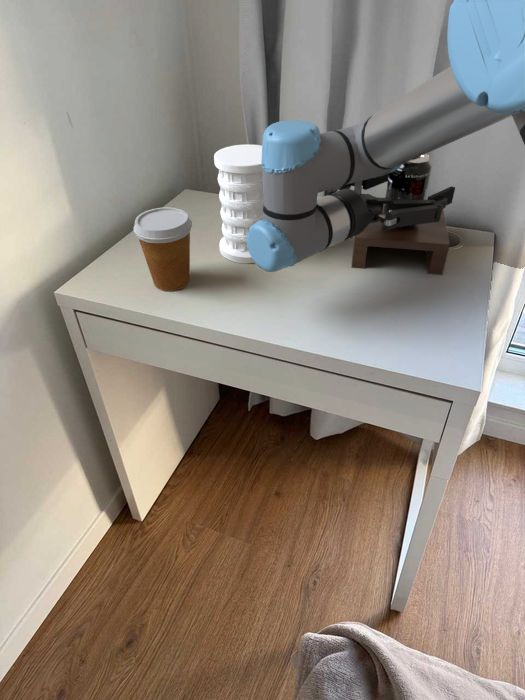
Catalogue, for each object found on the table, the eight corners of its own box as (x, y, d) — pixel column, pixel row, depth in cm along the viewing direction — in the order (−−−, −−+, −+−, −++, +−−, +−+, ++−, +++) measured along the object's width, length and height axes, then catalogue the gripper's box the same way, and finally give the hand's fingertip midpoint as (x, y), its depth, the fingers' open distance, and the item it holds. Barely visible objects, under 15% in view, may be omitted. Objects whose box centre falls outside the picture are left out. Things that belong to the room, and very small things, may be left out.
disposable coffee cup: (133, 285, 88) (119, 221, 80) (172, 262, 93) (162, 201, 86) (171, 302, 83) (160, 237, 75) (209, 278, 89) (203, 215, 81)
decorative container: (207, 247, 97) (198, 154, 86) (252, 229, 103) (249, 139, 92) (245, 270, 91) (240, 172, 79) (291, 249, 96) (292, 154, 85)
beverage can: (427, 223, 90) (441, 156, 83) (405, 235, 87) (417, 166, 79) (396, 211, 94) (407, 146, 87) (374, 222, 91) (383, 156, 83)
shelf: (442, 274, 88) (449, 244, 84) (351, 267, 91) (354, 237, 87) (435, 229, 102) (441, 201, 98) (356, 223, 104) (359, 196, 100)
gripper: (282, 215, 88) (362, 184, 98) (394, 270, 73) (475, 226, 83) (282, 173, 83) (367, 144, 93) (402, 222, 68) (488, 182, 78)
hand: (418, 183), depth 88 cm, fingers open, 13 cm apart
